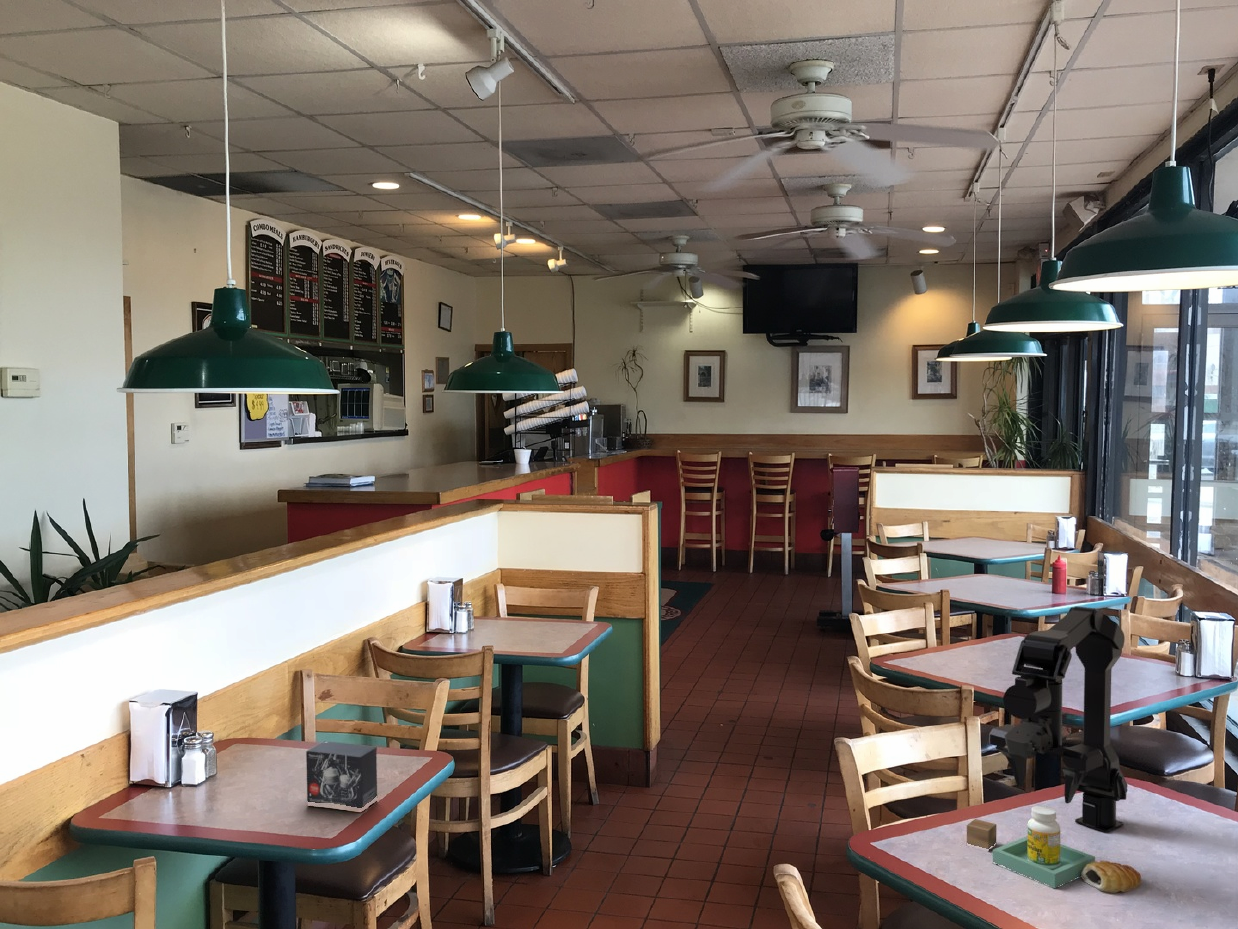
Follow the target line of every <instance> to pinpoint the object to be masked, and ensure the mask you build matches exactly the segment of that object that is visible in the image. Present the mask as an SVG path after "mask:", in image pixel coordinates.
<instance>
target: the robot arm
mask: <svg viewBox="0 0 1238 929" xmlns="http://www.w3.org/2000/svg"><path fill="white" fill-rule="evenodd" d="M1124 645H1125V633H1124V631H1123V629H1122V628H1121V627H1120V625H1119V624H1118V623H1117V622H1116V621H1114V620H1112V619H1110V618H1109V617H1107V616H1106V615H1104V614H1103V613H1102V612H1101V611H1100V610H1099V609H1097V608H1093V607H1086V606H1072V607H1070V608H1069V610H1068V613H1067V614H1065V615H1064V616H1063V617H1062V618H1061V619H1059V620H1058V621H1057V622H1056V623H1055V624H1054V625H1053V626H1051V627H1050V628H1048V629H1044V630H1037V631H1036V630H1035V631H1033V632H1030V633H1028V634H1026V635H1025V637H1024V638H1023V639H1022V640H1021V641H1020V644H1019V647H1018V651H1017V655H1016V658H1015V660H1014V664H1013V668H1012V671H1011V674H1012V676H1013V675H1014V676H1017V677H1015V678H1014V685H1010V686H1009V687H1008V688H1007V689H1006V690H1005V692H1004V694H1003V697H1002V700H1003V705H1004V708H1005V709H1006V711H1007V712H1008V713H1009V714H1010V715H1011V716H1012V717H1014V718H1016V719H1019V720H1020V723H1019V724H1017V725H1013V724H1010V723H1008V724H1004V725H999V726H997V727H993V728H992V729H991V730H990V732H989V734H988V743H989V745H992V746H995V747H994V748H995V749H996V751H999V752H1000V753H1001V754H1002V755H1004V756H1005V759H1006V760H1007V762H1008V764H1009V767H1010V769H1011V771H1012V775H1013V778H1014V781H1015V783H1016V786H1017V788H1019V789H1022V788H1023V787H1024V783H1025V778H1026V771H1027V770H1026V768H1027V762H1028V760H1030V759H1033V758H1035V757H1036V755H1037V753H1039V754H1045V753H1046V754H1050V755H1053V756H1057V757H1061V758H1062V762H1063V764H1064V766H1060V768H1061V770H1062V772H1063V773H1064V794H1063V795H1064V803H1066V804H1069V803H1071V802H1072V801H1073V799H1074V797H1075V795H1076V792H1081V793H1082V805H1081V806H1082V807H1081V808H1082V811H1081V813H1082V814H1081V816H1080V817H1078V818H1075V819H1074V821H1075V823H1077V824H1080V825H1082V826H1085V827H1087V828H1091V829H1095V831H1100V832H1103V833H1109V832H1111V831H1113V830H1114V831H1115V830H1116V829H1119V828H1121V827H1123V826H1124V825H1125V824H1124V822H1123V821H1120V820H1117V802H1119V801H1121V800H1123V801H1124V800H1127V793H1128V782H1127V780H1126V778H1125V777H1124V776H1125V775H1124V774H1123V772H1122V770H1121V769H1120V758H1119V756H1118V755H1117V753H1116V751H1115V749H1114V748H1113V746H1112V745H1111V714H1112V713H1111V707H1112V700H1111V699H1112V669H1113V667H1114V666H1115V665H1116V663H1117V662H1118V661H1119V659H1120V658H1121V657H1122V649H1123V648H1124ZM1072 649H1075V655H1076V656H1077V658H1078V660H1079V661H1080V663H1081V664H1082V666H1083V669H1084V675H1083V676H1084V677H1083V680H1084V684H1083V685H1084V686H1083V721H1082V722H1083V727H1082V729H1083V730H1082V733H1083V734H1082V735H1083V736H1082V738H1083V739H1082V743H1079V744H1076V745H1073V746H1070V747H1068V746H1065V745H1063V744H1064V743H1067V736H1066V735H1063V721H1064V720H1067V712H1063V679H1065V678H1066V674H1067V671H1068V669H1069V666H1070V663H1071V660H1072V656H1073V655H1072Z"/></svg>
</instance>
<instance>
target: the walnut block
mask: <svg viewBox="0 0 1238 929" xmlns="http://www.w3.org/2000/svg"><path fill="white" fill-rule="evenodd" d="M967 843H968V844H971V845H974V846H979V847H982V848H986V849H989V848H990V847H991V846H994V844H995V843H996V844H997V824H996V823H993V822H989V821H985V820H981V819H978V818H974V819H973V820H972V821H970V822H969V823H968V824H966V844H967Z"/></svg>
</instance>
